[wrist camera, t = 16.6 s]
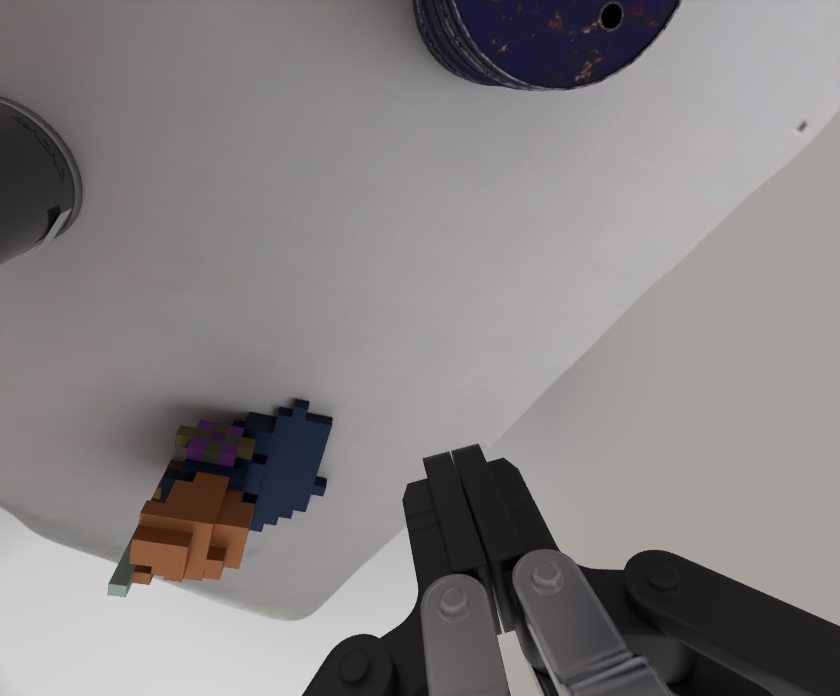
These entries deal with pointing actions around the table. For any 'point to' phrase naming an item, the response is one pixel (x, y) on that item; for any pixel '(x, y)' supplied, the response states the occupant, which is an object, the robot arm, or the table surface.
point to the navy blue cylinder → (540, 39)
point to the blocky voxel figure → (224, 495)
